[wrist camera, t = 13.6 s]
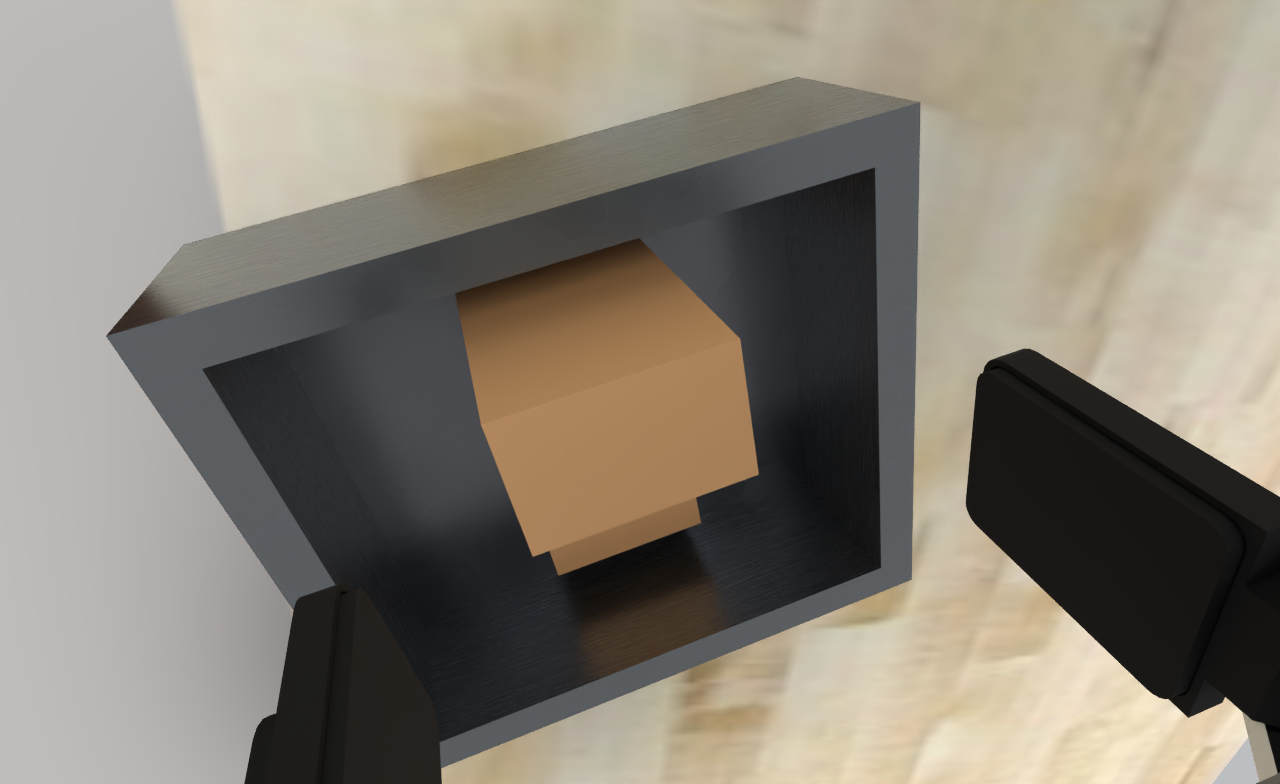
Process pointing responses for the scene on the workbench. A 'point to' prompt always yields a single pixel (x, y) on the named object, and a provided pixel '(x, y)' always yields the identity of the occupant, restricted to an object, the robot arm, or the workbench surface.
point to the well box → (449, 419)
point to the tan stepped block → (606, 400)
